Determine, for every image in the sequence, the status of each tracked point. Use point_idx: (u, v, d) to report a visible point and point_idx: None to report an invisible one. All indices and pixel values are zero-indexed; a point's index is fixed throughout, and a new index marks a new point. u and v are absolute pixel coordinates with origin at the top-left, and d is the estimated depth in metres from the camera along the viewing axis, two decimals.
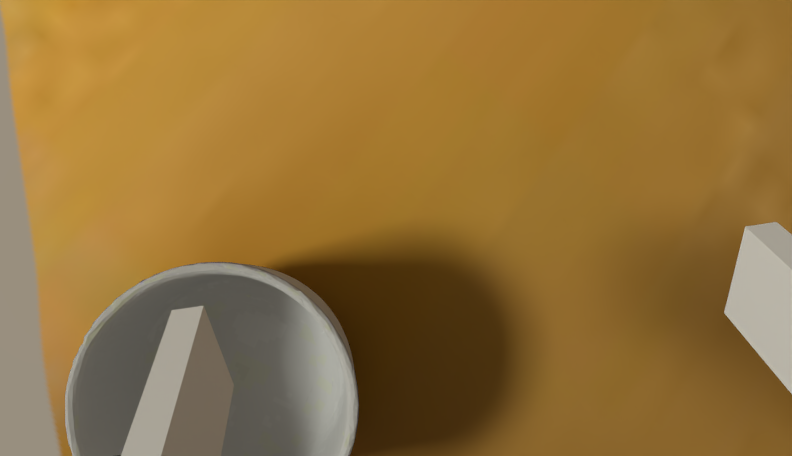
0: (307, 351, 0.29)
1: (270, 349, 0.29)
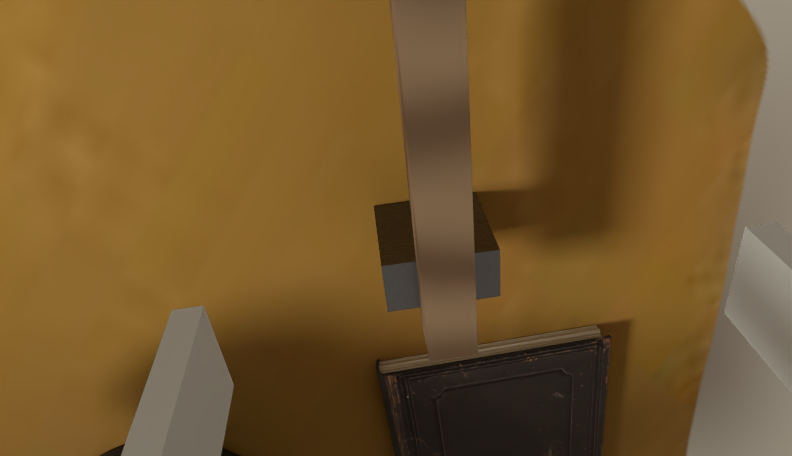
0: None
1: None
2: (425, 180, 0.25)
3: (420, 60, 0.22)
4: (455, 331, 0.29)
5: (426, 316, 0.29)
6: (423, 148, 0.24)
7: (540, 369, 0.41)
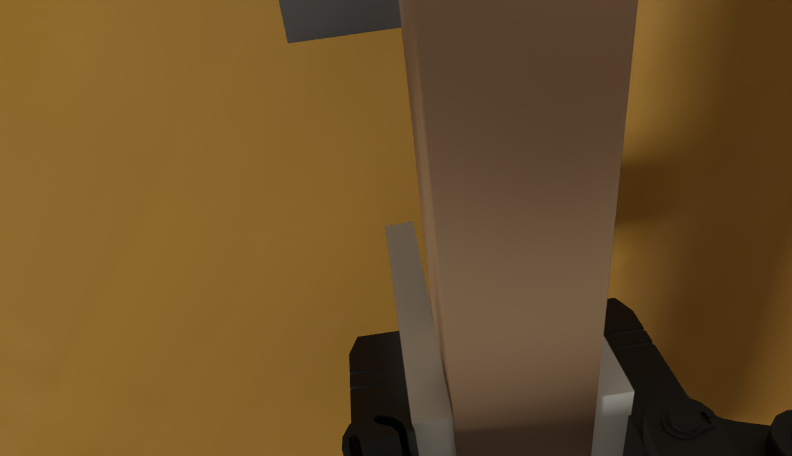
0: None
1: None
2: None
3: (494, 333, 0.09)
4: None
5: None
6: None
7: None
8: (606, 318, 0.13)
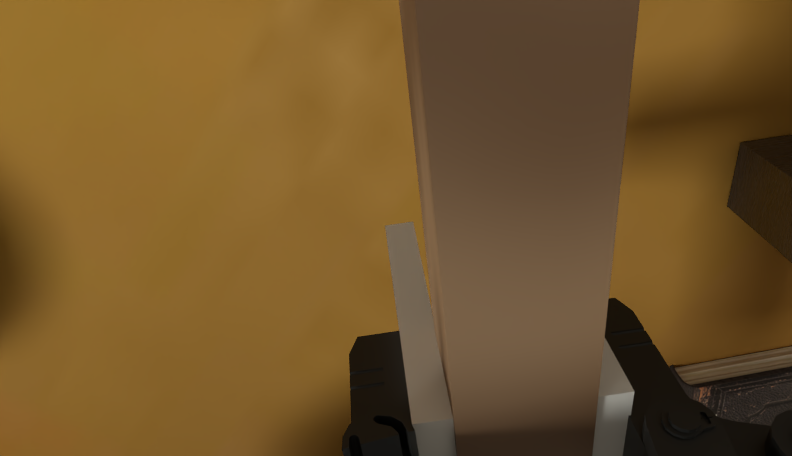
0: None
1: None
2: None
3: (494, 333, 0.09)
4: None
5: None
6: None
7: None
8: (606, 318, 0.13)
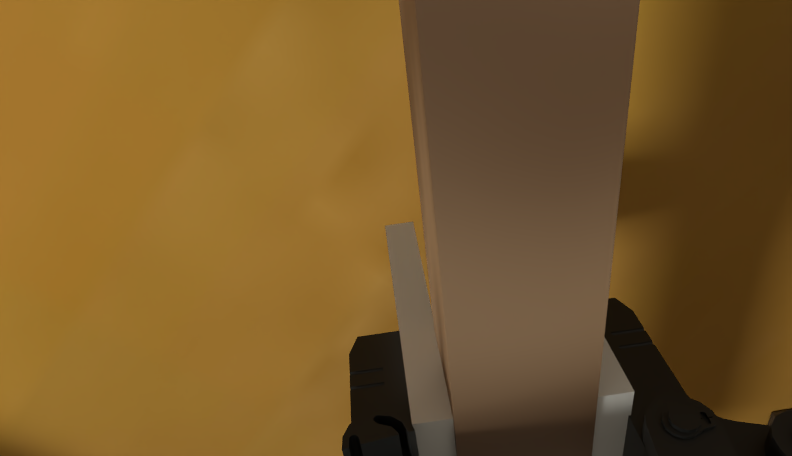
0: None
1: None
2: None
3: (494, 332, 0.09)
4: None
5: None
6: None
7: None
8: (606, 318, 0.13)
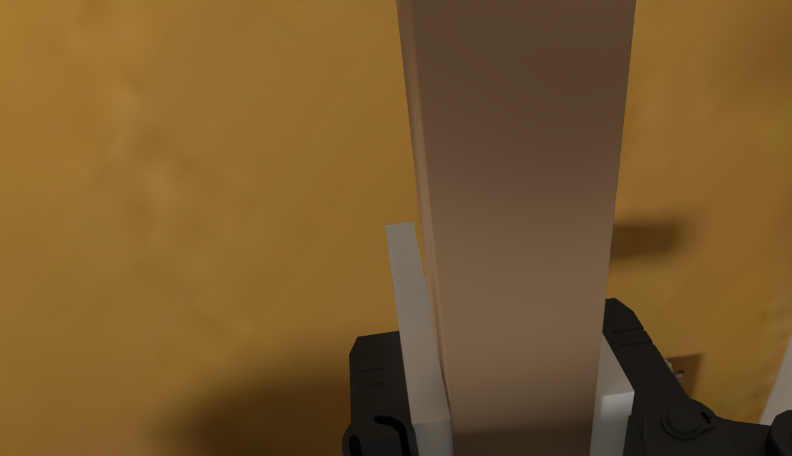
0: None
1: None
2: None
3: (491, 330, 0.09)
4: None
5: None
6: None
7: None
8: (606, 318, 0.13)
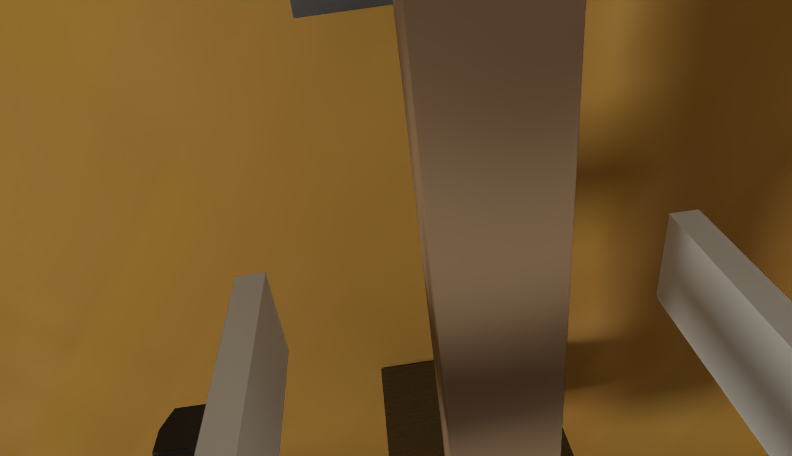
0: None
1: None
2: (475, 446, 0.13)
3: (474, 267, 0.11)
4: None
5: None
6: (474, 403, 0.12)
7: None
8: None
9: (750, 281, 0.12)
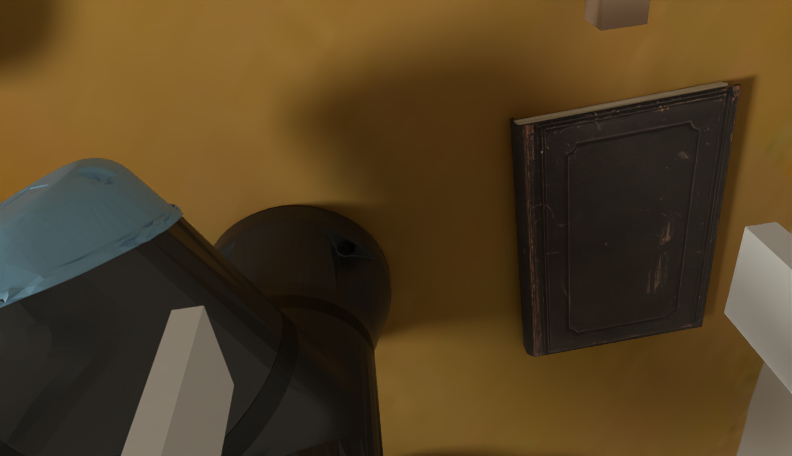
0: None
1: None
2: None
3: None
4: None
5: None
6: None
7: (670, 121, 0.43)
8: None
9: None
